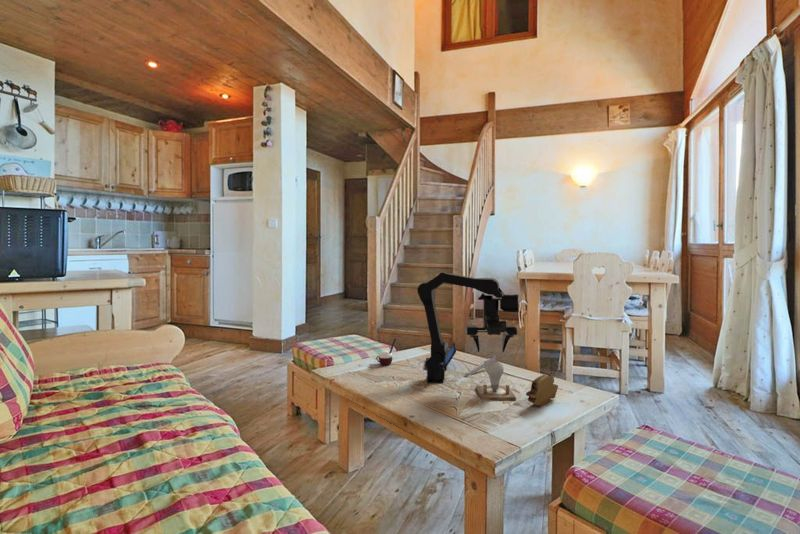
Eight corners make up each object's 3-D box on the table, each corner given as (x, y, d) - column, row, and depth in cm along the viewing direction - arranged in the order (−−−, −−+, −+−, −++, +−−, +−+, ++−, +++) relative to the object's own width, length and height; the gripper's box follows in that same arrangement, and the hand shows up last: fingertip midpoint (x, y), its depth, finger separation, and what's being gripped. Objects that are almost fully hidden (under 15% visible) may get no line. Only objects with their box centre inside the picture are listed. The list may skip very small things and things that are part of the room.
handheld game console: (426, 360, 199) (426, 341, 198) (454, 361, 197) (454, 341, 197) (425, 370, 183) (425, 349, 183) (456, 371, 182) (456, 350, 181)
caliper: (494, 367, 188) (494, 353, 187) (496, 367, 187) (496, 353, 187) (464, 377, 174) (464, 362, 174) (466, 377, 174) (466, 362, 173)
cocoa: (374, 364, 193) (372, 338, 192) (384, 361, 198) (382, 336, 197) (389, 368, 187) (387, 341, 186) (399, 364, 191) (397, 338, 191)
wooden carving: (546, 395, 152) (546, 368, 151) (558, 399, 149) (559, 371, 148) (523, 408, 140) (523, 379, 140) (535, 412, 137) (536, 382, 137)
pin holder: (481, 400, 148) (481, 388, 148) (476, 388, 160) (476, 377, 160) (515, 400, 148) (515, 388, 148) (508, 388, 160) (508, 377, 160)
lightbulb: (484, 388, 157) (484, 358, 156) (500, 387, 157) (500, 358, 157) (488, 394, 151) (489, 363, 150) (505, 393, 151) (506, 363, 150)
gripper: (469, 315, 153) (469, 358, 154) (521, 315, 153) (520, 357, 154) (465, 310, 165) (465, 350, 166) (513, 310, 164) (513, 350, 165)
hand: (490, 352), depth 162 cm, fingers open, 9 cm apart
